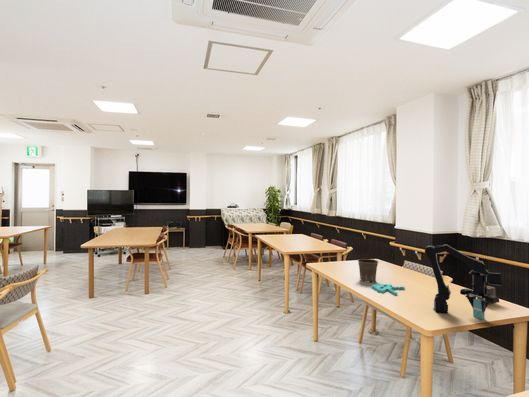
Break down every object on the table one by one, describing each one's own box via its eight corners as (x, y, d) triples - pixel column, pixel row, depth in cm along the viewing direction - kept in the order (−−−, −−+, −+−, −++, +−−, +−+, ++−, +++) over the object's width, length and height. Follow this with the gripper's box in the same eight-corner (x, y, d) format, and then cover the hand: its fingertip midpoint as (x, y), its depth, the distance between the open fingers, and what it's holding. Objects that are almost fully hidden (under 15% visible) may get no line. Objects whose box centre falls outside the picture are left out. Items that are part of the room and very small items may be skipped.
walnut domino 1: (485, 305, 199) (485, 289, 199) (477, 302, 204) (477, 287, 204) (487, 304, 200) (487, 289, 200) (479, 302, 204) (479, 287, 204)
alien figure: (404, 289, 234) (377, 285, 247) (404, 286, 234) (377, 282, 247) (396, 296, 219) (368, 290, 231) (396, 293, 219) (368, 287, 231)
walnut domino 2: (493, 303, 202) (493, 288, 202) (485, 301, 207) (485, 286, 207) (495, 303, 203) (495, 287, 203) (487, 300, 207) (487, 285, 207)
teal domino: (482, 319, 175) (482, 301, 175) (473, 316, 180) (473, 299, 180) (484, 319, 176) (484, 301, 176) (475, 316, 181) (475, 298, 181)
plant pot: (378, 283, 249) (378, 263, 249) (357, 281, 255) (357, 261, 255) (378, 278, 265) (378, 259, 265) (358, 277, 270) (358, 258, 270)
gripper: (505, 286, 172) (505, 314, 172) (472, 278, 190) (472, 303, 190) (492, 288, 168) (492, 317, 168) (459, 279, 186) (459, 306, 186)
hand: (478, 310), depth 178 cm, fingers closed on teal domino, 5 cm apart
